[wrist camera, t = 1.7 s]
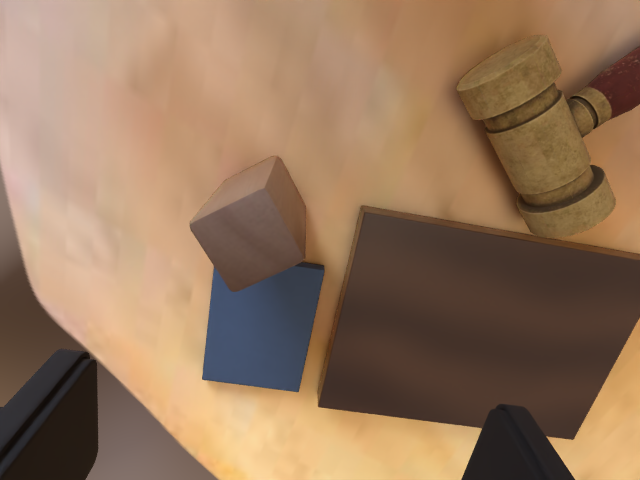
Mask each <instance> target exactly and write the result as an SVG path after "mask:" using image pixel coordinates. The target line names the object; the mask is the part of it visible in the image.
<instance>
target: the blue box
mask: <svg viewBox="0 0 640 480" xmlns="http://www.w3.org/2000/svg"><path fill="white" fill-rule="evenodd" d="M323 276H324V266H323V265H316V264H310V263H304V262H301V263H299V264H297V265H295V266H292V267H290V268H288V269H286V270H284V271H282V272H279V273H277V274H275V275H273V276H271V277H268V278H266V279H264V280H262V281H260V282H258V283H255V284H253V285H251V286H249V287H247V288H245V289H242V290H240V291H238V292H232V291H231V290H230V289H229V288H228V287H227V285H226V284H225V282H224V280H223V279H222V277H221V276H220V274H219V273H218V271H217V270H216V268H215V266H214V273H213V282H212V292H211V301H210V310H209V320H208V329H207V338H206V348H205V357H204V366H203V376H202V379H203V380H209V381H217V382H224V383H232V384H240V385H247V386H255V387H263V388H270V389H278V390H286V391H293V392H299V388H300V383H301V379H302V374H303V369H304V365H305V360H306V355H307V351H308V346H309V341H310V337H311V332H312V327H313V323H314V318H315V313H316V309H317V304H318V299H319V295H320V290H321V285H322V280H323Z"/></svg>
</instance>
